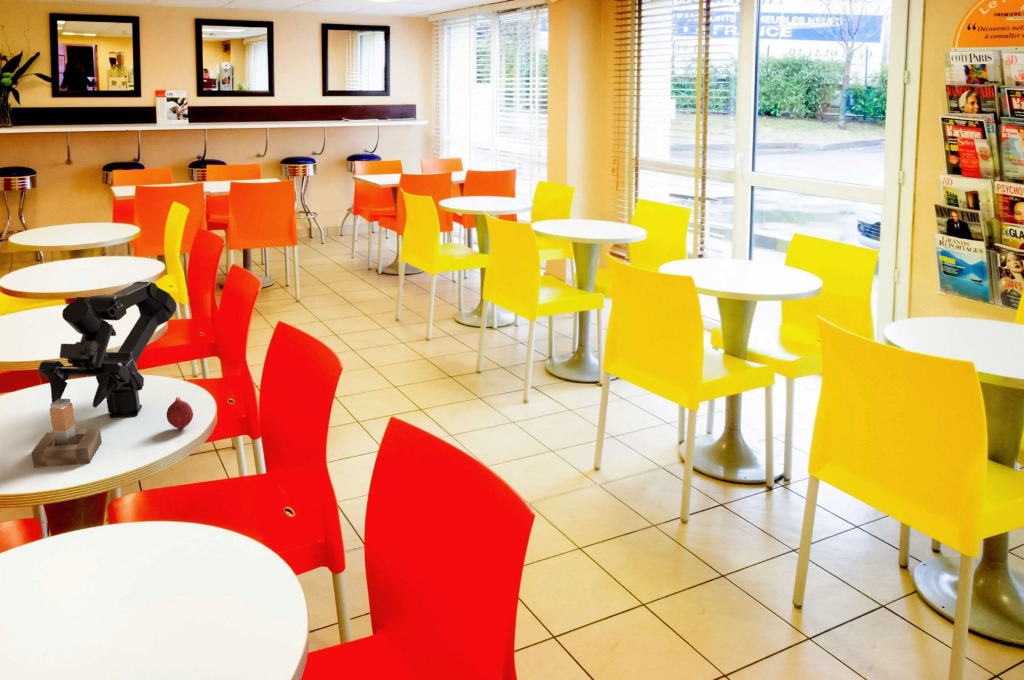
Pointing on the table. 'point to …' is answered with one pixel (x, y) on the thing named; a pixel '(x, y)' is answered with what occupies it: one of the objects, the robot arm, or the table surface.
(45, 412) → the table surface
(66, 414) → the banded grey brick
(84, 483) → the table surface
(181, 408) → the onion
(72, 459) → the block
